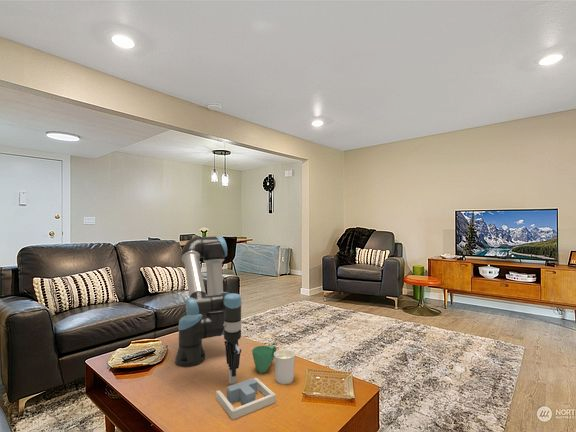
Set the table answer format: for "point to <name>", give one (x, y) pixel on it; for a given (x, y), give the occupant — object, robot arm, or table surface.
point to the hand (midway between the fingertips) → (232, 382)
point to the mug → (263, 357)
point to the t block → (242, 391)
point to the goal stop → (248, 407)
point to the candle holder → (284, 366)
